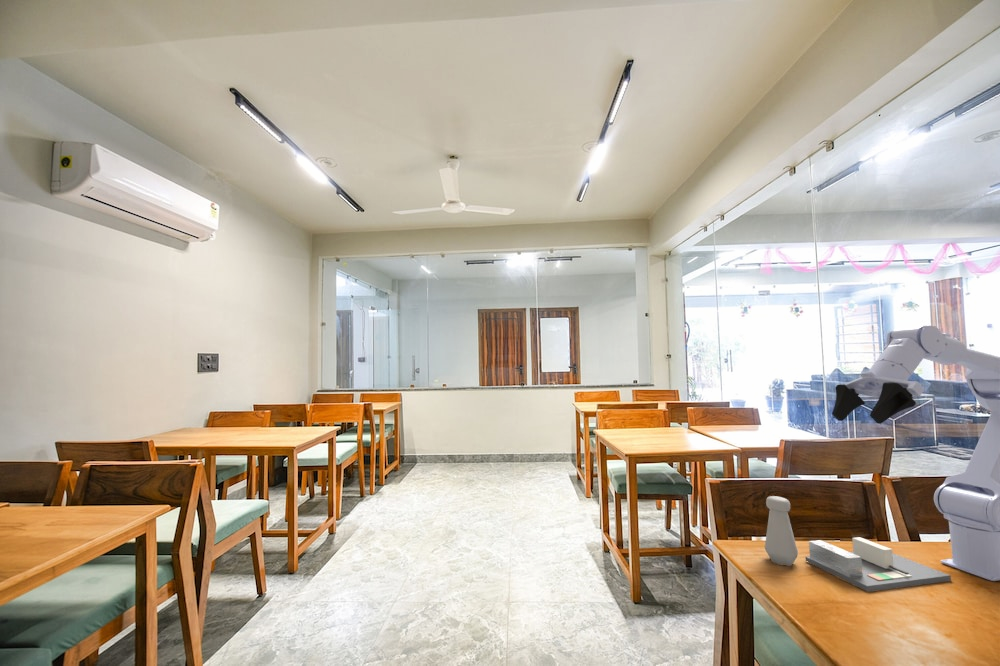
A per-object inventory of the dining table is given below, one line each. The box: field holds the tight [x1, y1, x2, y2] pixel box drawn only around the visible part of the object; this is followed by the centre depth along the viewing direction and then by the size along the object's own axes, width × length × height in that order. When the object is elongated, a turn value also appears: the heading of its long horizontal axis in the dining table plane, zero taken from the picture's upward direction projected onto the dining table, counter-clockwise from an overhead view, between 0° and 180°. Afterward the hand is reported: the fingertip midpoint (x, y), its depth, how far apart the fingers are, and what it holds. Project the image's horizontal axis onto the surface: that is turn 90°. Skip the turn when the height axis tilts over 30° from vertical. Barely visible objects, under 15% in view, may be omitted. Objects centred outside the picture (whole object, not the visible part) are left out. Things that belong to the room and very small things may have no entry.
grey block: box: [808, 539, 863, 578], centre depth 81 cm, size 3×8×4 cm, turn 12°
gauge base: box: [805, 551, 952, 593], centre depth 81 cm, size 20×12×1 cm, turn 102°
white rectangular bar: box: [851, 536, 909, 575], centre depth 81 cm, size 2×9×4 cm, turn 12°
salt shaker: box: [764, 495, 799, 567], centre depth 86 cm, size 6×6×13 cm
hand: (855, 418), depth 80 cm, fingers open, 7 cm apart
